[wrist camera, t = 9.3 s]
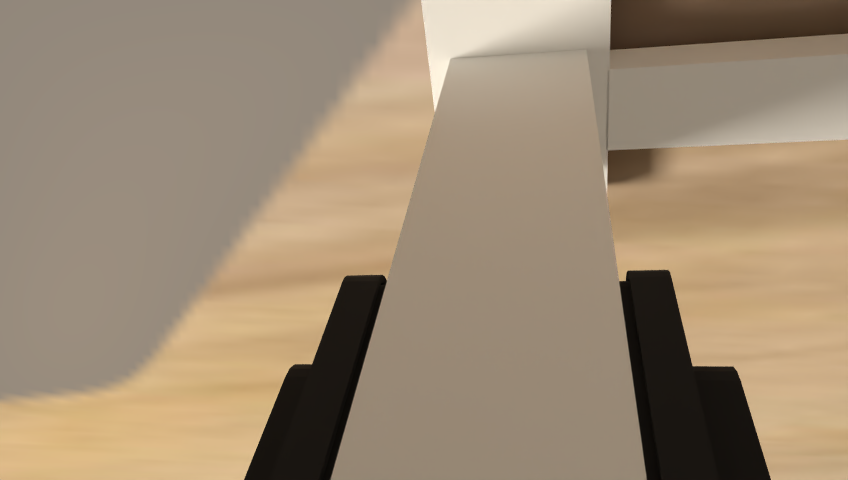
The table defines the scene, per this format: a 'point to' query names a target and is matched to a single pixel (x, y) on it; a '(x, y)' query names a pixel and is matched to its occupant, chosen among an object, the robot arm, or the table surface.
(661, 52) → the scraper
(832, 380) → the table surface
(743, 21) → the table surface
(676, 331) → the robot arm
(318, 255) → the table surface
